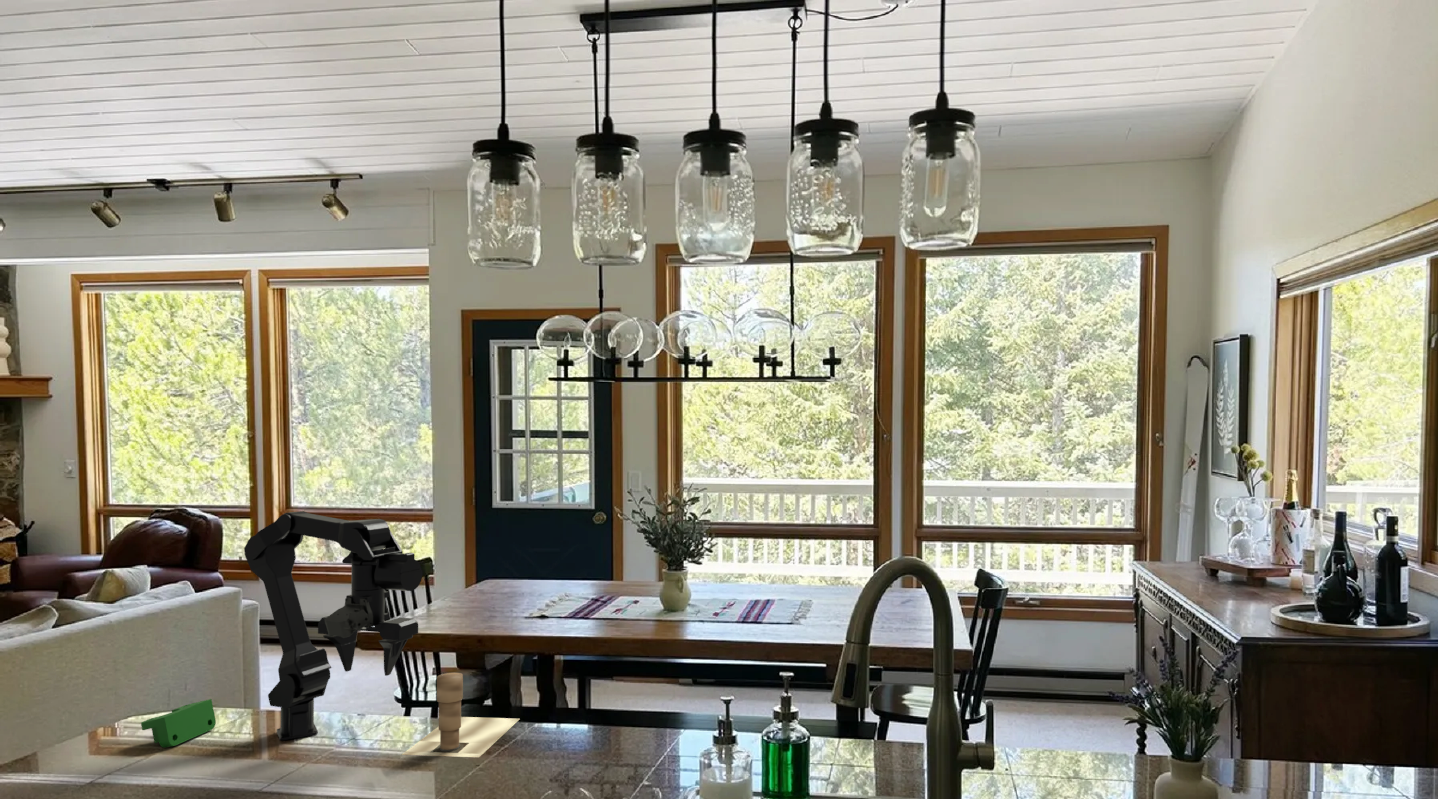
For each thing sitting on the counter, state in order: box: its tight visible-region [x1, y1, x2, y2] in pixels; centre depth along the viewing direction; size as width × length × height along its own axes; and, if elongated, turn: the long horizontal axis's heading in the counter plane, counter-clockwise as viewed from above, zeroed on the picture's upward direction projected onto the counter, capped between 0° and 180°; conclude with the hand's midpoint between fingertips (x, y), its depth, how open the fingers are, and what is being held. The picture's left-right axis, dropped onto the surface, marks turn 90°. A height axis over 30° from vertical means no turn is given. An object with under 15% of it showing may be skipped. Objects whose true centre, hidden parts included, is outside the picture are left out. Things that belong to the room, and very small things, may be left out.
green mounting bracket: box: [140, 698, 217, 749], centre depth 160 cm, size 12×6×9 cm
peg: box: [436, 672, 464, 752], centre depth 150 cm, size 4×4×14 cm
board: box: [401, 716, 521, 767], centre depth 156 cm, size 14×20×2 cm
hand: (367, 673), depth 157 cm, fingers open, 9 cm apart
